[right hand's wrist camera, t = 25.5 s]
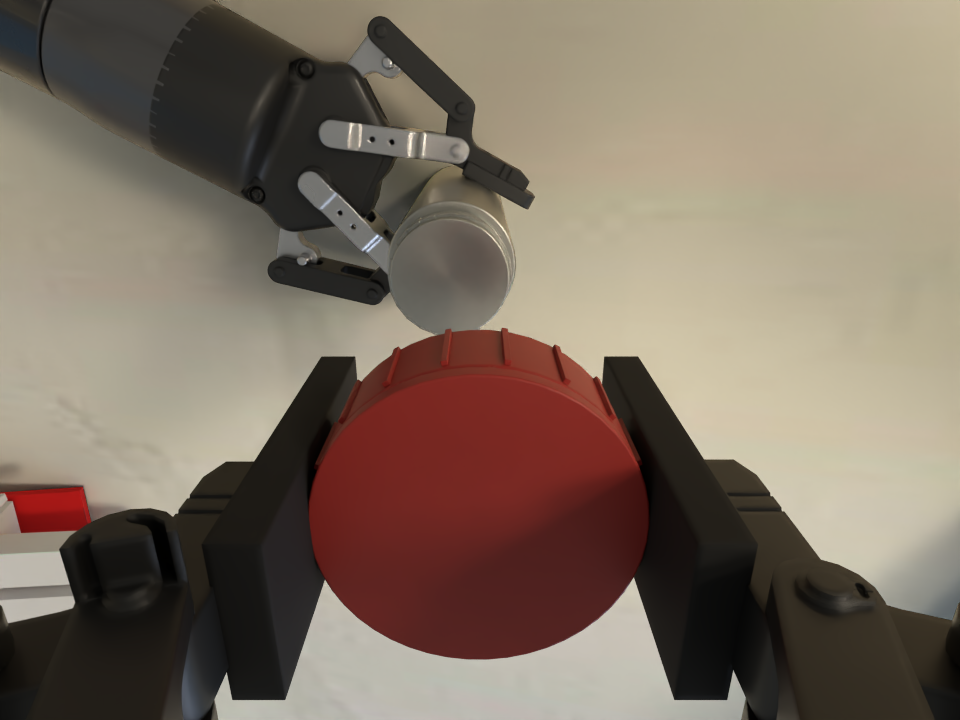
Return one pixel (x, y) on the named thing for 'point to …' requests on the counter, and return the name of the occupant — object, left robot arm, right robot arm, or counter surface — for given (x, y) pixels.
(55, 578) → the toy
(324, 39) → the counter surface
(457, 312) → the jar
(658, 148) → the counter surface
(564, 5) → the counter surface
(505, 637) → the lid
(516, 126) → the counter surface
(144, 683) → the right robot arm
